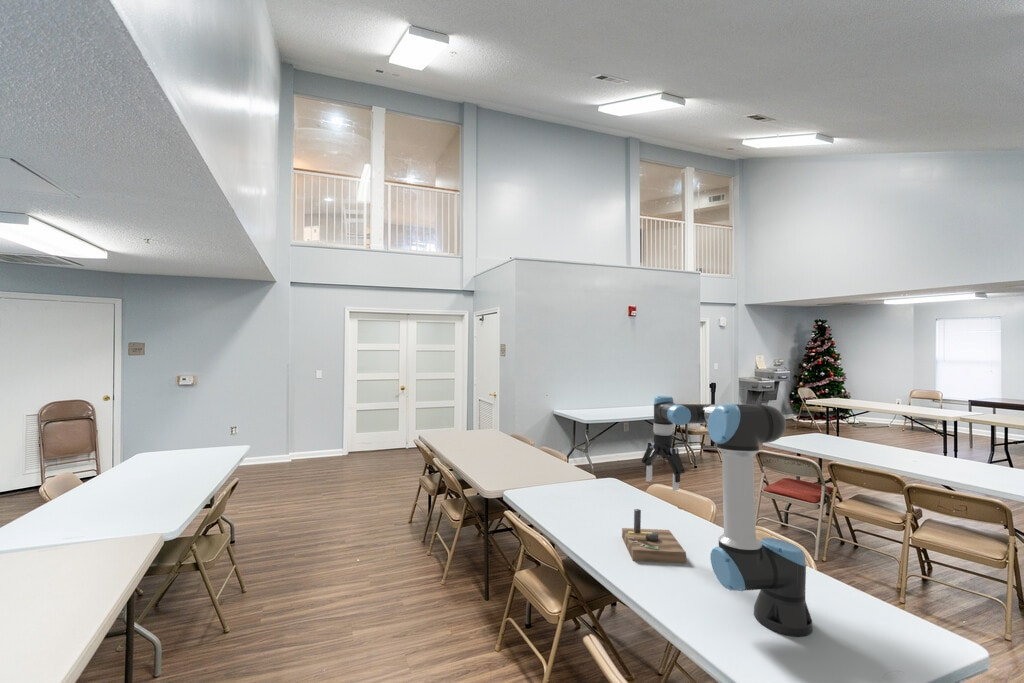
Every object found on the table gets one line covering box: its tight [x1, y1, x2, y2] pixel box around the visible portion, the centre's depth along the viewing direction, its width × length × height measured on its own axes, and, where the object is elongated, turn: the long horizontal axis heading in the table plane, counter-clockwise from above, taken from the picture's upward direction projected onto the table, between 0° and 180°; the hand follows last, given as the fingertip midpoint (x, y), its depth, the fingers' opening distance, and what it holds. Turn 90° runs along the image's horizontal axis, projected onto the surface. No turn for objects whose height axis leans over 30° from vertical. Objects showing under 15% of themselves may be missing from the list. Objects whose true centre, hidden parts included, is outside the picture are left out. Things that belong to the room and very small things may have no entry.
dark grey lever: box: [628, 508, 659, 541], centre depth 186 cm, size 5×12×11 cm, turn 87°
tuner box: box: [621, 527, 687, 564], centre depth 185 cm, size 22×20×4 cm
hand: (661, 485), depth 187 cm, fingers open, 13 cm apart
